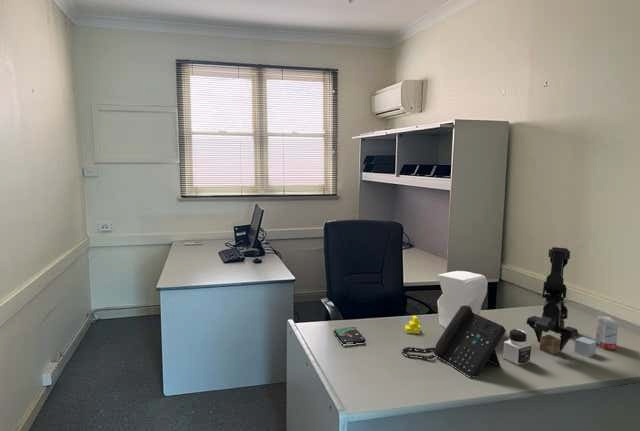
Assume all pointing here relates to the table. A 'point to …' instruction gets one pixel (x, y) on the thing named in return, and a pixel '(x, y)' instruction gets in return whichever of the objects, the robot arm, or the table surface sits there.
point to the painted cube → (585, 346)
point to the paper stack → (460, 294)
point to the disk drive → (349, 335)
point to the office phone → (467, 342)
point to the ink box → (606, 332)
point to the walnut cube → (550, 344)
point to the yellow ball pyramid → (413, 325)
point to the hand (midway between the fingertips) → (550, 346)
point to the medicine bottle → (517, 347)
